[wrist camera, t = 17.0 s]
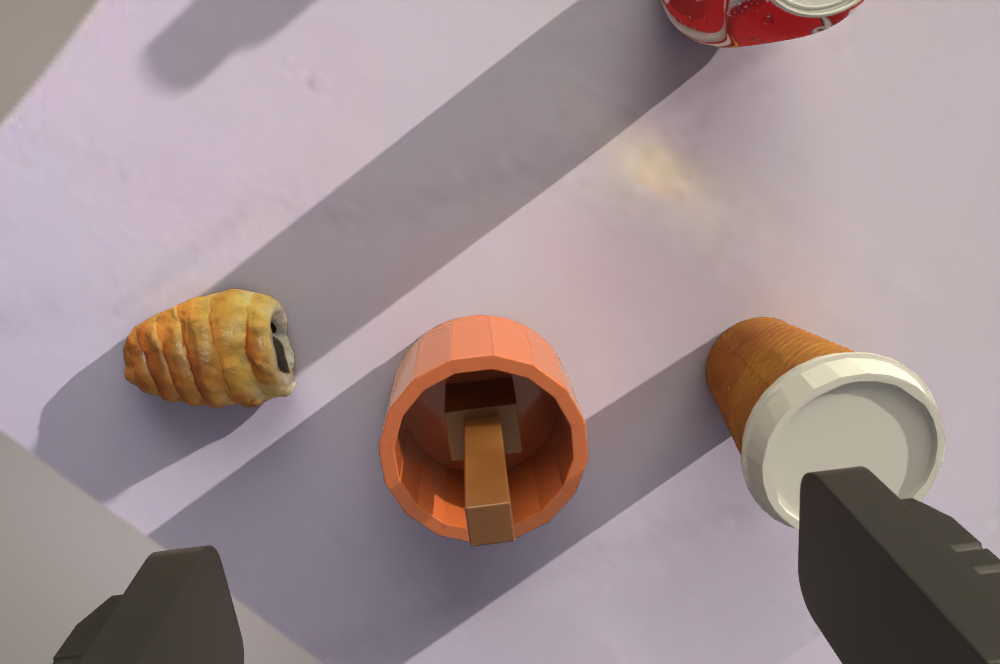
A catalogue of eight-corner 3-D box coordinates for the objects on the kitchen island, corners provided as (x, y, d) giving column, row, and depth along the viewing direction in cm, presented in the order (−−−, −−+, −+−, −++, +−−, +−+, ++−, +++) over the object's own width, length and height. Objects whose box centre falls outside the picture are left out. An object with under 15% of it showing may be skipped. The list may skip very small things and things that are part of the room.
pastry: (150, 407, 44) (123, 436, 41) (118, 300, 42) (85, 319, 39) (306, 386, 44) (292, 412, 41) (281, 277, 42) (264, 295, 39)
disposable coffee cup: (706, 275, 44) (793, 343, 32) (855, 308, 45) (989, 385, 33) (659, 420, 46) (724, 529, 35) (800, 448, 48) (907, 562, 36)
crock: (406, 487, 47) (397, 553, 40) (378, 326, 44) (364, 369, 37) (575, 466, 47) (594, 529, 41) (561, 304, 44) (579, 344, 37)
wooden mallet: (452, 429, 45) (448, 560, 33) (445, 384, 44) (439, 500, 32) (517, 421, 45) (538, 548, 33) (512, 376, 44) (532, 489, 32)
